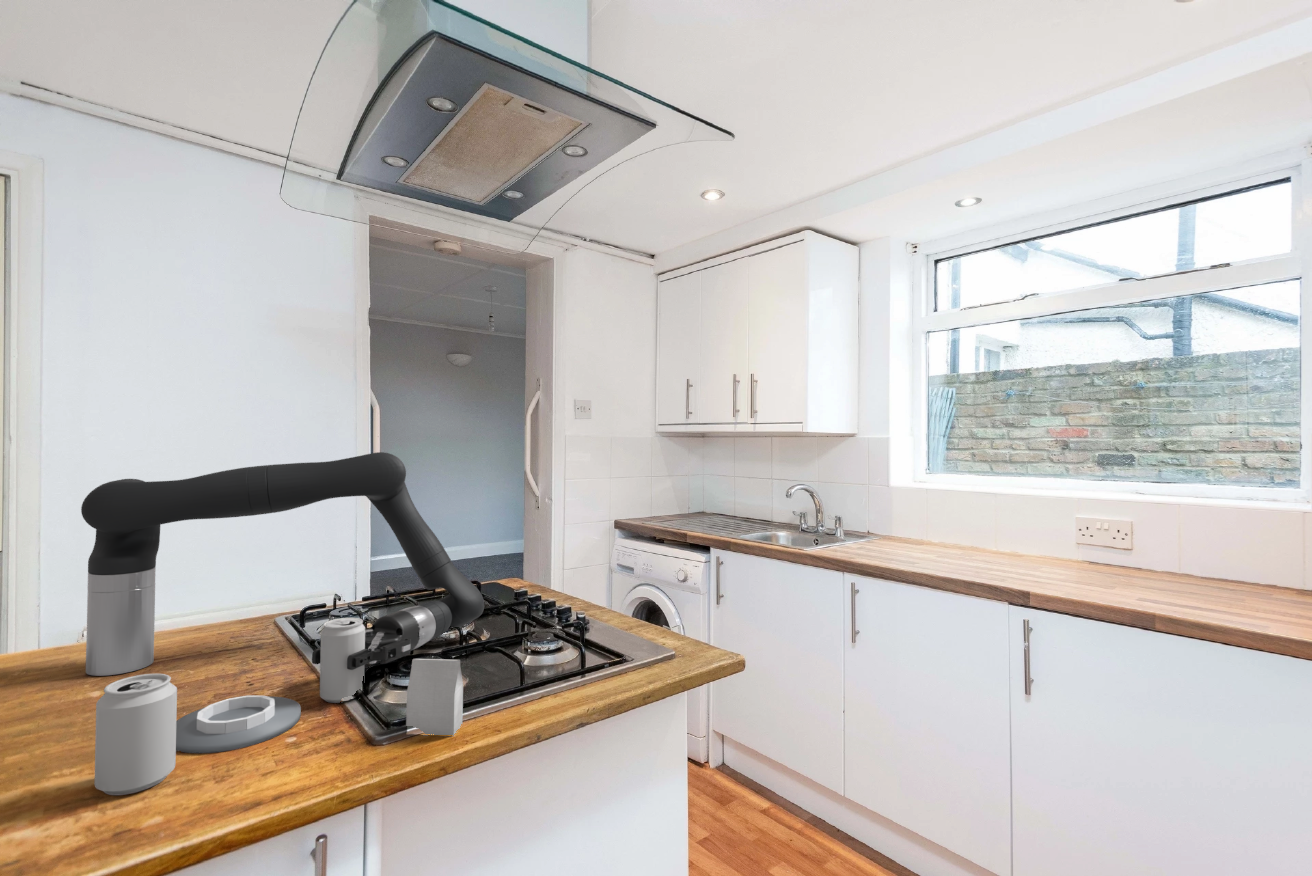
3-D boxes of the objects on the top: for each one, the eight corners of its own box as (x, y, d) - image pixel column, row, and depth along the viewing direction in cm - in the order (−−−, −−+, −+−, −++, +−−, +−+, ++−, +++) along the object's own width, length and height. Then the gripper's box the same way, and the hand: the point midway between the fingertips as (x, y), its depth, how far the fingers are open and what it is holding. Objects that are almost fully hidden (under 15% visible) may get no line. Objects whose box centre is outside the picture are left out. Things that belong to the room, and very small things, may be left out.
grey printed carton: (453, 736, 89) (455, 664, 89) (406, 734, 89) (407, 663, 89) (462, 724, 93) (463, 656, 93) (416, 723, 93) (417, 654, 93)
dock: (172, 716, 93) (173, 699, 93) (297, 695, 102) (298, 679, 102) (158, 764, 80) (159, 744, 80) (304, 735, 88) (304, 717, 88)
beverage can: (346, 706, 98) (347, 628, 98) (309, 702, 99) (311, 625, 99) (372, 691, 104) (374, 617, 104) (338, 687, 105) (339, 614, 105)
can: (126, 766, 79) (128, 670, 79) (189, 764, 80) (191, 669, 80) (76, 800, 72) (78, 694, 72) (146, 798, 72) (149, 693, 73)
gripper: (372, 606, 118) (295, 631, 102) (438, 614, 113) (369, 642, 97) (371, 646, 117) (294, 678, 102) (437, 656, 113) (368, 691, 97)
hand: (331, 660), depth 99 cm, fingers closed on beverage can, 6 cm apart
